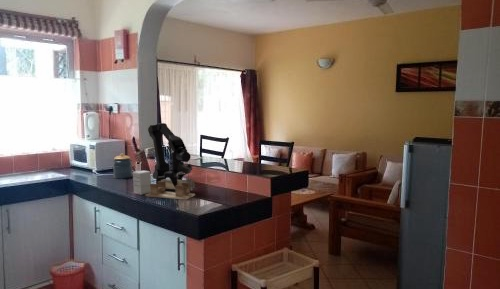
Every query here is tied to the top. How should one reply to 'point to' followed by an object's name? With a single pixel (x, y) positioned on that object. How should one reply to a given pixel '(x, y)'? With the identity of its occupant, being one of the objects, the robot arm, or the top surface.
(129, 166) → the canister
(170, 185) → the rail
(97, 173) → the top surface
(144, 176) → the supplement box
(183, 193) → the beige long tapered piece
